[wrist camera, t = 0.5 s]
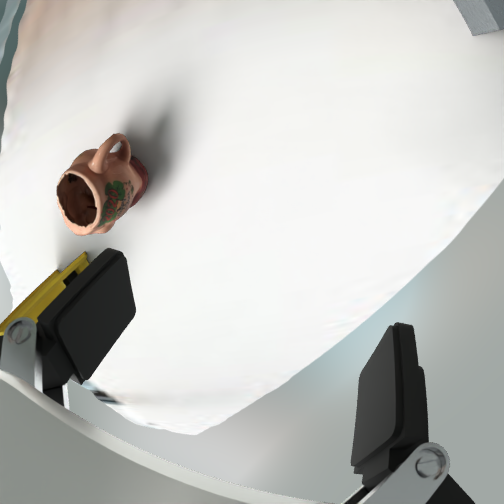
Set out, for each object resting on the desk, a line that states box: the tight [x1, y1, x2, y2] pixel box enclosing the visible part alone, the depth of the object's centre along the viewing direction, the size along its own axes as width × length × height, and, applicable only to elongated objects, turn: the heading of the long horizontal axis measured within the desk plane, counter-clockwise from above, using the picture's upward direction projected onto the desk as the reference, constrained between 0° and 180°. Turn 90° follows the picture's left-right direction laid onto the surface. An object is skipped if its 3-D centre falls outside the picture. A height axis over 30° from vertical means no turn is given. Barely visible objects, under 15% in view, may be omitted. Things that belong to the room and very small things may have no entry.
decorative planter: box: [57, 133, 148, 236], centre depth 45 cm, size 20×12×14 cm, turn 151°
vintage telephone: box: [0, 252, 89, 336], centre depth 60 cm, size 31×14×30 cm, turn 119°
